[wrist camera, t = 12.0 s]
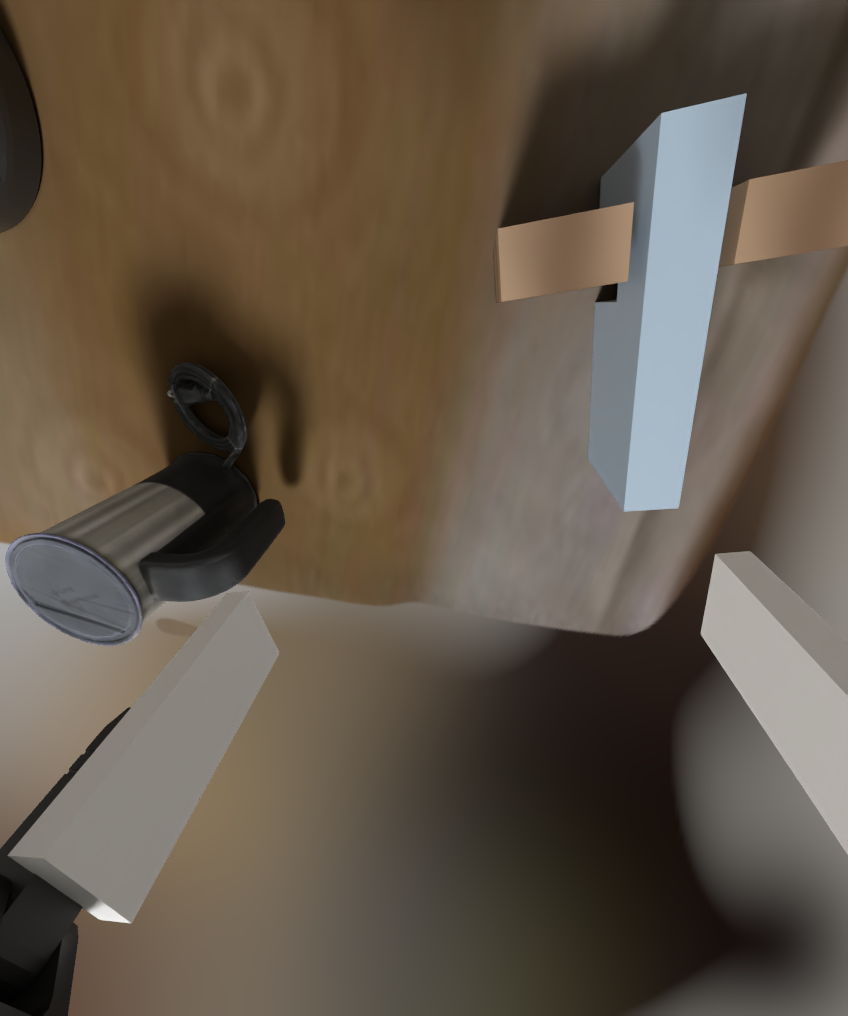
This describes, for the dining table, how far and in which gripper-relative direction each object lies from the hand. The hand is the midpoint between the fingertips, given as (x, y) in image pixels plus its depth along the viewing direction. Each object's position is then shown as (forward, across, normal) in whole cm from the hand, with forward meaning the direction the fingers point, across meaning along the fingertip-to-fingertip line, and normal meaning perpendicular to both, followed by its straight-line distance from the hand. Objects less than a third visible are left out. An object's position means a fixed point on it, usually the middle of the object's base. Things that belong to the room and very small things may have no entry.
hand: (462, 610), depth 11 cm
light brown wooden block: (+22, +11, +8) cm, 26 cm away
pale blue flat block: (+22, +11, +4) cm, 25 cm away
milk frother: (+23, -24, -1) cm, 33 cm away
